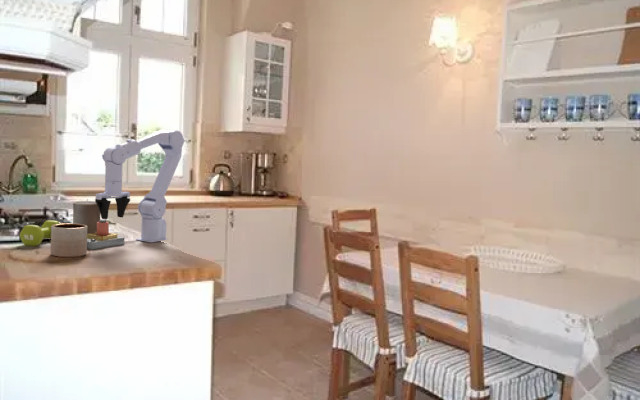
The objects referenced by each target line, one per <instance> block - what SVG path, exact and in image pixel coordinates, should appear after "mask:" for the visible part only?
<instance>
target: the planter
mask: <svg viewBox="0 0 640 400" xmlns="http://www.w3.org/2000/svg"><path fill="white" fill-rule="evenodd" d="M87 251H88V249H87V225H83V224H74V223H73V222H72V223H60V224H55V225H52V226H51V240H50V255H51V256H53V257H55V256H58V257H57V258H63V257H72V258H79V256H80V257H83V256H86V254H87V253H88V252H87Z"/></svg>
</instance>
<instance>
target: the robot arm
mask: <svg viewBox="0 0 640 400" xmlns="http://www.w3.org/2000/svg"><path fill="white" fill-rule="evenodd" d="M184 143H185V138H184V135H183V134H182V132H181V131H179V130H177V129H176V130H168V129H167V130H165V129H160V130H157V131H154V132H153V133H151V134H149V135H146V136H145V137H142V138H140V139H139V140H135V139H131V138H129V139H126V142H123V143H121V144H119V143H117V144H115V146H114V147H107V148H106V149H105V150H104V152H103V153H102V155H101V157H102V160H103V161H104V166H105V171H104V173H105V175H104V179H105V181H104V191H103V192H100V193H95V199H94V202H96V203H97V205H98V207H99V210H100V219H101V220H108V217H109V209H110V205H111V203H112V201H111V200H108V199H115V203H116V204H115V205H116V215H117V218H124V215H125V212H126V209H127V207H128V204H129V203H130V202H131V198H130V197H131V192H129V191H123V190H122V189H123V164H124V163H125V162H126V160H128V159H129V158H132V157H135V156H137V155H140V154H141V151H142V150H143V149H145V148H149V147H151V146H153V145H156V144H158V146H159V147H160V148H161V149H162V151H163V152H164V154H165V157H164V160H163V161H162V162H163V163H162V164H161V167H160V170H159V171H158V173H157V177H156V179H155V180H154V183H153V186H152V187H151V190H150V192H148V193H146V194H145V195H144V197H143V199H141V200H140V202H139V203H138V205H137V210H138V213H139V214H140V217H141V228H140V229H141V230H140V237H138V238H135V240H136V241H140V242H147V243H156V242H161V241H165V240H166V241H167V240H168V238H167V221H166V219H165V218H164V217H163V216H164V215H165V214H166V211H167V210H166V207H167V203H168V201H167V199H166V197H165V196H166V194H167V191H168V190H169V187H170V184H171V181H172V179H173V177H174V175H175V172H176V170H177V168H178V165H179V163H180V161H181V158H182V152H183V150H182V149H183V146H184Z"/></svg>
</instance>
